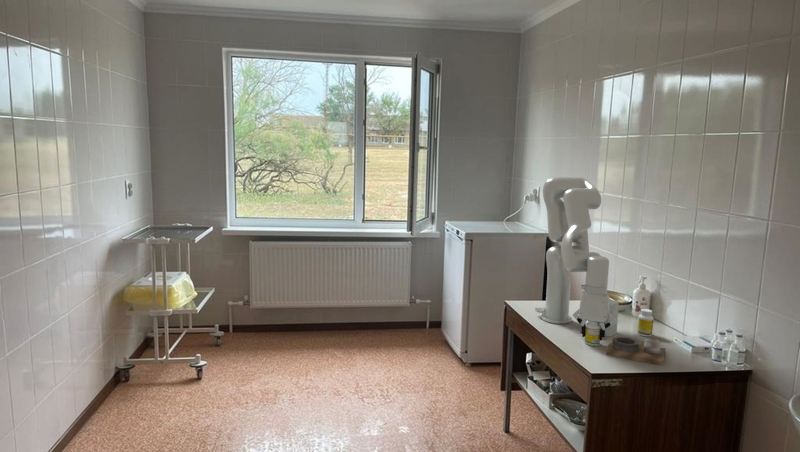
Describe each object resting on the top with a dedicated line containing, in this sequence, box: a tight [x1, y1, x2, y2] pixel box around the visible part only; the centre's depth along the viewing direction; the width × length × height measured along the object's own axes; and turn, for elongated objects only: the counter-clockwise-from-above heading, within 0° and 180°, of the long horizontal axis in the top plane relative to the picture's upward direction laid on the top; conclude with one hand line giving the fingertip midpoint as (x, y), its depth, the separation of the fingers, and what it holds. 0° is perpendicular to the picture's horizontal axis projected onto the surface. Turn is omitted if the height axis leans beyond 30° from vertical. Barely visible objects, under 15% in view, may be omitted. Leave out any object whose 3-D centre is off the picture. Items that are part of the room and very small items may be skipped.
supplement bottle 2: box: [636, 308, 655, 337], centre depth 205 cm, size 5×5×10 cm
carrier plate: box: [605, 336, 666, 366], centre depth 185 cm, size 18×14×6 cm
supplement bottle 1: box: [584, 320, 601, 347], centre depth 194 cm, size 5×5×10 cm
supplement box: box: [599, 299, 620, 337], centre depth 207 cm, size 7×7×13 cm
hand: (592, 337), depth 194 cm, fingers closed on supplement bottle 1, 5 cm apart
